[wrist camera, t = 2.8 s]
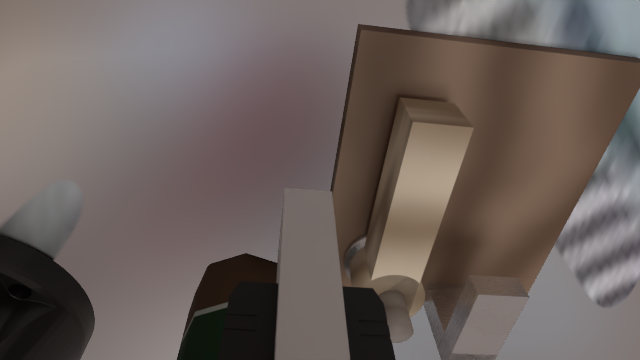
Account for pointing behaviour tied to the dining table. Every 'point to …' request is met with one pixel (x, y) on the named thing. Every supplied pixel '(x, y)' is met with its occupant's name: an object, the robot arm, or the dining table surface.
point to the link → (410, 206)
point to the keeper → (467, 312)
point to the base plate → (483, 142)
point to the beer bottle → (219, 303)
